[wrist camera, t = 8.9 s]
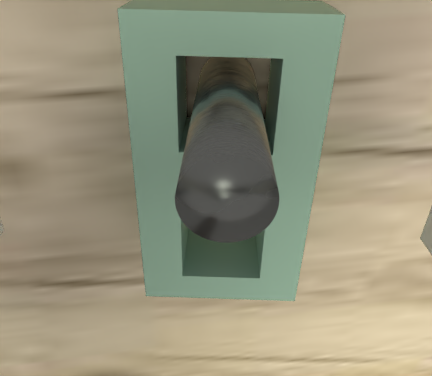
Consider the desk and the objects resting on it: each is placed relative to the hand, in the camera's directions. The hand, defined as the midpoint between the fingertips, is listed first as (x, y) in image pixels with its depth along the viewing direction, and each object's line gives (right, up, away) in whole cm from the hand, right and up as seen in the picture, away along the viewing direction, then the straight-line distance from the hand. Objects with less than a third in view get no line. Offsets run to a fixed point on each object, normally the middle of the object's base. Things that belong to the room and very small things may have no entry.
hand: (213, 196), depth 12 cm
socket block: (+1, +3, +12) cm, 12 cm away
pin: (+1, +6, +10) cm, 12 cm away
